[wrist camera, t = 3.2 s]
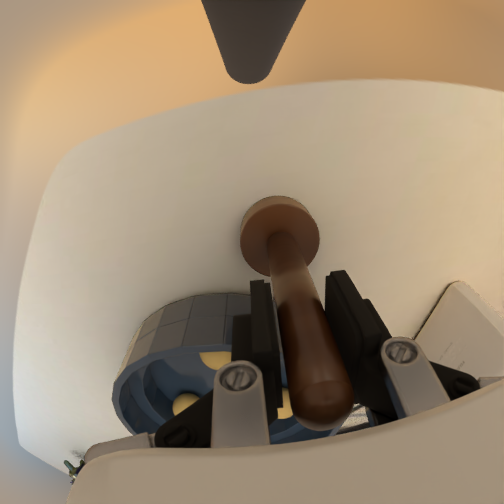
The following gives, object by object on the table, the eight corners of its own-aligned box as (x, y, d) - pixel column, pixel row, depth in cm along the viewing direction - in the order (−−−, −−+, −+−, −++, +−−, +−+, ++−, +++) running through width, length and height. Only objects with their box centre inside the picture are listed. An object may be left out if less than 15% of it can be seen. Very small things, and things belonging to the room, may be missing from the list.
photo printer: (450, 274, 21) (536, 365, 10) (474, 284, 22) (551, 365, 11) (394, 361, 25) (441, 462, 14) (421, 364, 26) (469, 453, 14)
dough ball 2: (198, 324, 22) (192, 350, 19) (237, 321, 22) (236, 348, 19) (205, 352, 23) (202, 379, 20) (242, 349, 23) (242, 376, 20)
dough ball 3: (263, 383, 25) (265, 408, 22) (296, 379, 25) (301, 404, 22) (265, 401, 26) (267, 426, 23) (296, 398, 26) (300, 422, 23)
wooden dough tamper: (236, 199, 18) (217, 380, 5) (311, 192, 18) (435, 344, 5) (245, 267, 20) (246, 468, 7) (313, 259, 20) (390, 443, 7)
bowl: (103, 297, 21) (72, 345, 16) (336, 275, 21) (363, 326, 15) (166, 424, 29) (158, 466, 23) (324, 415, 28) (334, 458, 23)
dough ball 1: (171, 387, 25) (165, 411, 22) (201, 386, 25) (198, 412, 22) (179, 405, 26) (175, 428, 23) (208, 404, 26) (206, 429, 23)
